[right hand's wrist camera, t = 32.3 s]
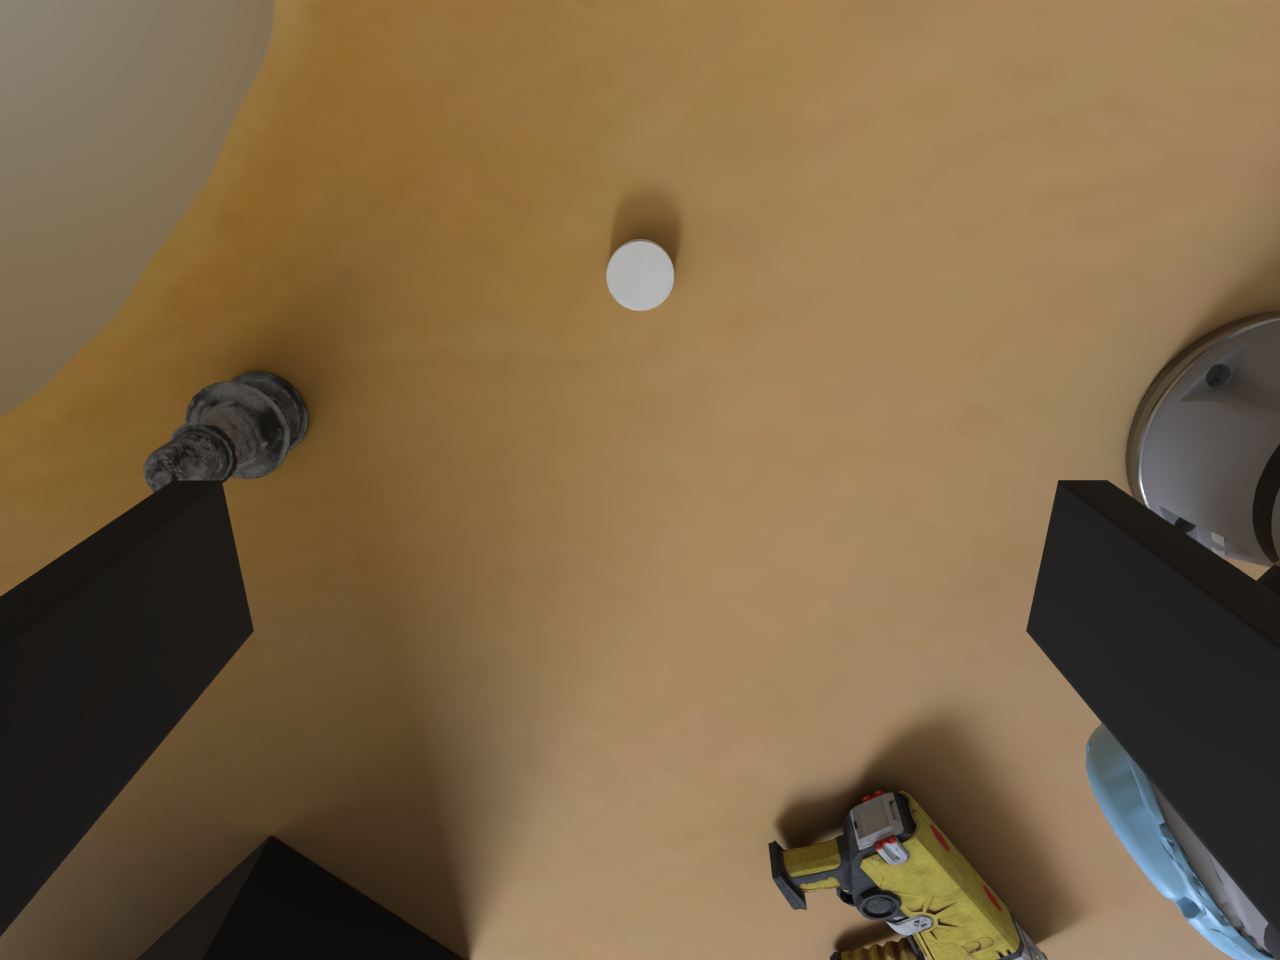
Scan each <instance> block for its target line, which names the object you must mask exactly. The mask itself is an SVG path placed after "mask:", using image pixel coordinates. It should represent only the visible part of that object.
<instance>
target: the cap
mask: <svg viewBox="0 0 1280 960" xmlns="http://www.w3.org/2000/svg"><path fill="white" fill-rule="evenodd" d="M606 279H607V285H608V288H609V290H610V292H611V294H612V296H613V297H614V298H615V299H616V301H617V302H619V303H620V304H621V305H623V306H624V307H626V308H629V309H632V310H639V311H642V310H649V309H652V308H654V307H656V306H658V305H659V304H661V303H662V302H663V301H664V300H665V299H666V298H667V297H668V295H669V294H670V292H671V290H672V287H673V284H674V268H673V264H672V261H671V259H670V257H669V255H668V253H667V252H666V251H665V250H664V248H663V247H661V246H660V245H659V244H657V243H656V242H653V241H651V240H647V239H633V240H630V241H627V242H625V243H623V244H622V245H621V246H619V247H618V248H617V249H616V250H615V252H614V253H613V254H612V256H611V258H610V260H609V263H608V267H607V272H606Z"/></svg>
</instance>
